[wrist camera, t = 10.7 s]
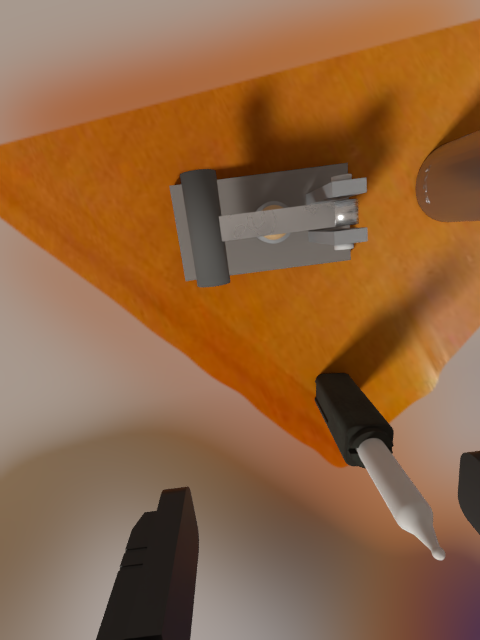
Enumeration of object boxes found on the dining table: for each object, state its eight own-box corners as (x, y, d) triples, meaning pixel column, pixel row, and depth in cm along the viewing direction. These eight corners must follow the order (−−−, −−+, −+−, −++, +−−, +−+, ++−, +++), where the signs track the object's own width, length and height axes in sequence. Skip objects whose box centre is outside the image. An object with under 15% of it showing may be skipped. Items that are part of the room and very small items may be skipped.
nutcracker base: (341, 166, 39) (389, 138, 27) (345, 258, 42) (389, 268, 30) (172, 188, 39) (148, 170, 27) (187, 278, 42) (171, 296, 30)
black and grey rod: (315, 374, 46) (410, 532, 22) (351, 372, 46) (484, 528, 22) (314, 405, 47) (402, 587, 23) (348, 404, 47) (471, 583, 23)
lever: (346, 159, 31) (363, 149, 28) (349, 262, 34) (365, 265, 30) (182, 179, 31) (177, 172, 27) (199, 282, 33) (196, 288, 30)
